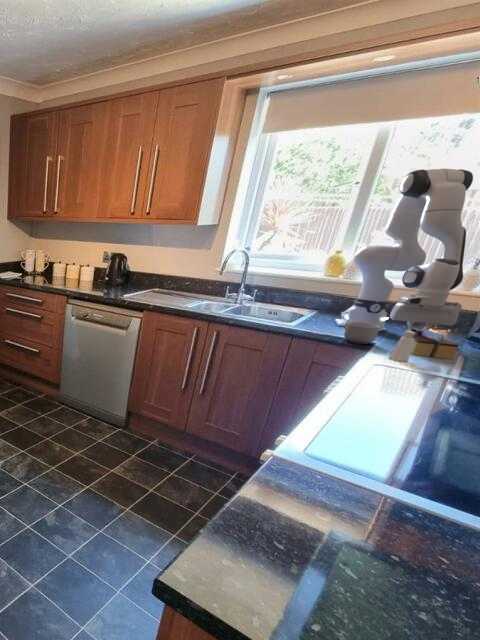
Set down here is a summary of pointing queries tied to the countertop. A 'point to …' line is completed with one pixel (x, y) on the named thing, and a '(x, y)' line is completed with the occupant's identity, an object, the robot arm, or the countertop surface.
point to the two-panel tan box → (433, 348)
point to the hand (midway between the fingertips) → (415, 332)
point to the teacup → (360, 332)
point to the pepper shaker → (403, 347)
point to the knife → (429, 336)
